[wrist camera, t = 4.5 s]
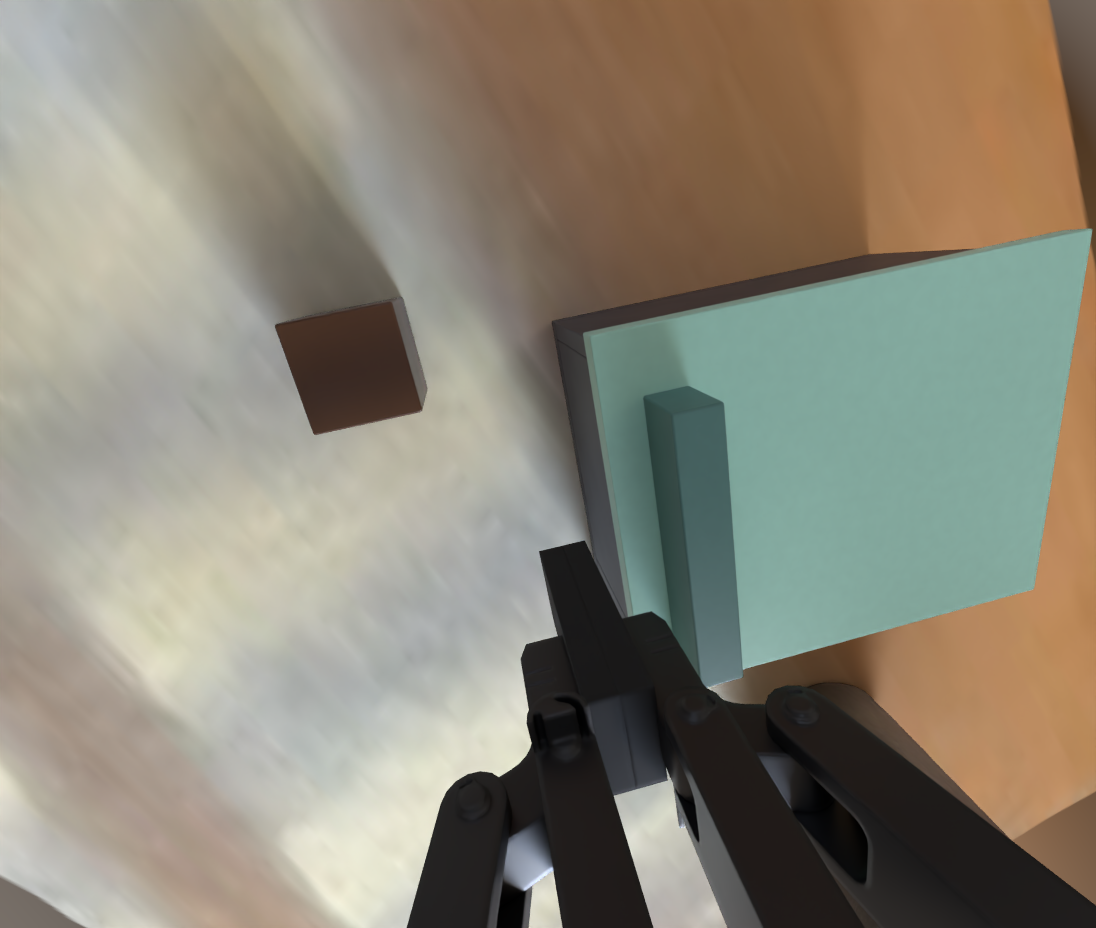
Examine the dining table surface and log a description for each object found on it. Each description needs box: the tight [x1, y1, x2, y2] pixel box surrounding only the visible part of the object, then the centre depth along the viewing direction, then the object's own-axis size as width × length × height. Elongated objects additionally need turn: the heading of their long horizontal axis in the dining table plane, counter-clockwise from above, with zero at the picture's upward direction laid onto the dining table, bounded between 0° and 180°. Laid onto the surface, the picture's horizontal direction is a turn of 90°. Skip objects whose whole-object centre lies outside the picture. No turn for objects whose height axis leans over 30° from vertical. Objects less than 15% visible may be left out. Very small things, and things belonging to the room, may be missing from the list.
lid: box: [583, 229, 1092, 688], centre depth 19 cm, size 14×17×4 cm
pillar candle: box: [807, 683, 1011, 928], centre depth 31 cm, size 10×10×15 cm
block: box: [275, 297, 427, 435], centre depth 23 cm, size 4×4×4 cm
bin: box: [552, 249, 974, 618], centre depth 25 cm, size 14×17×9 cm
